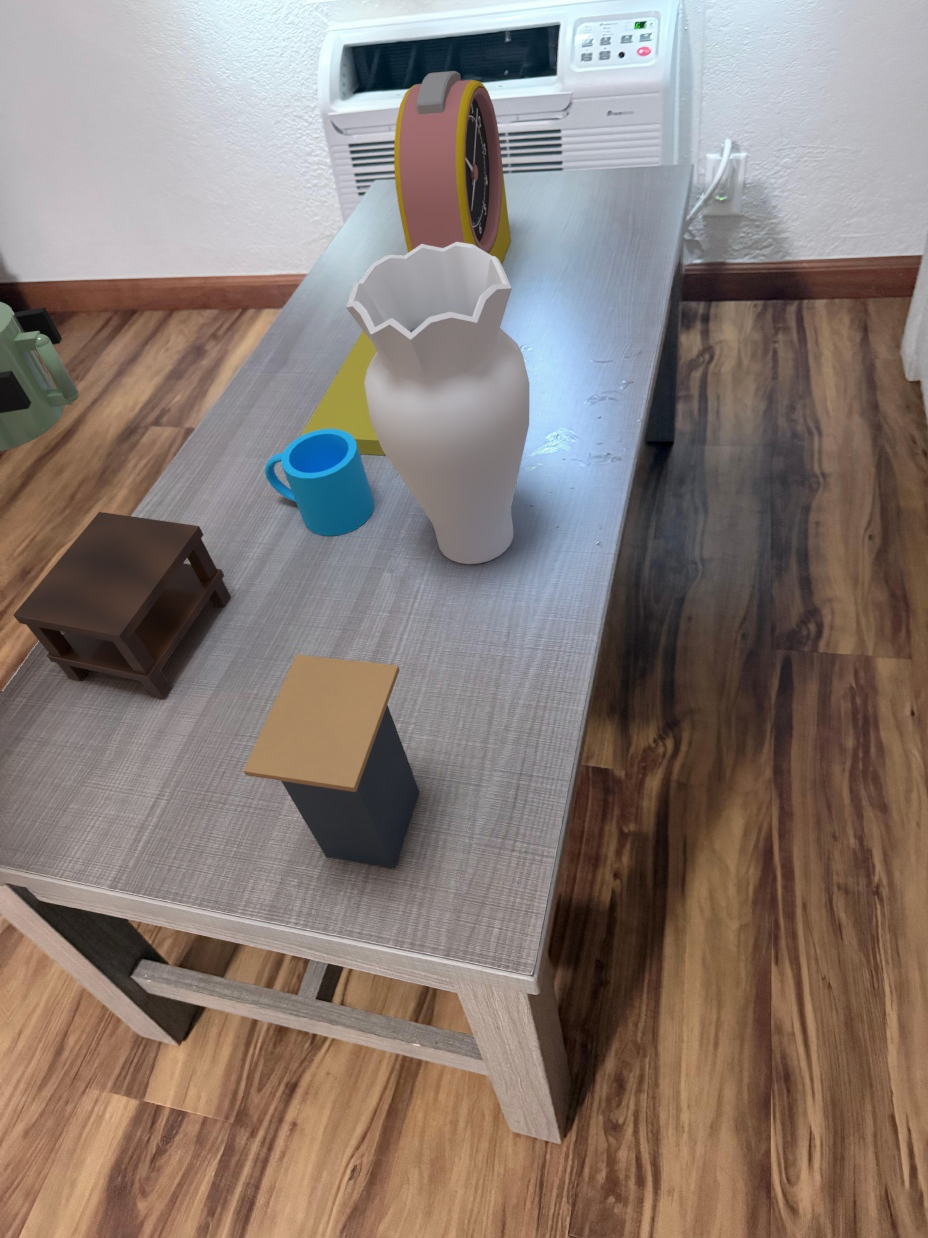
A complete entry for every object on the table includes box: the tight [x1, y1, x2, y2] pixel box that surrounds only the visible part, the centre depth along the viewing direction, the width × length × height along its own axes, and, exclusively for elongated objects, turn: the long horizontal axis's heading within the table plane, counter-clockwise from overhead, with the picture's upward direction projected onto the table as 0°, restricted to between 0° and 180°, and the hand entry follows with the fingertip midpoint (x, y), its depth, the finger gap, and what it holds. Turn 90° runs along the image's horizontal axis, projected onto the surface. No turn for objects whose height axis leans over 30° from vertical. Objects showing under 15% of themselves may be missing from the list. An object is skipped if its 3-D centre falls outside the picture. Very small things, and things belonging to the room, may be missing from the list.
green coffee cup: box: [0, 301, 80, 452], centre depth 67 cm, size 10×8×8 cm
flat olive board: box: [300, 330, 386, 456], centre depth 112 cm, size 12×2×24 cm
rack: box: [12, 511, 232, 700], centre depth 87 cm, size 14×12×10 cm
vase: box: [345, 242, 530, 565], centre depth 82 cm, size 15×15×29 cm
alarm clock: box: [393, 70, 512, 266], centre depth 119 cm, size 21×9×26 cm, turn 167°
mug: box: [264, 429, 375, 537], centre depth 96 cm, size 12×8×8 cm
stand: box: [243, 654, 420, 870], centre depth 67 cm, size 10×8×16 cm
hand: (36, 356), depth 66 cm, fingers closed on green coffee cup, 8 cm apart
